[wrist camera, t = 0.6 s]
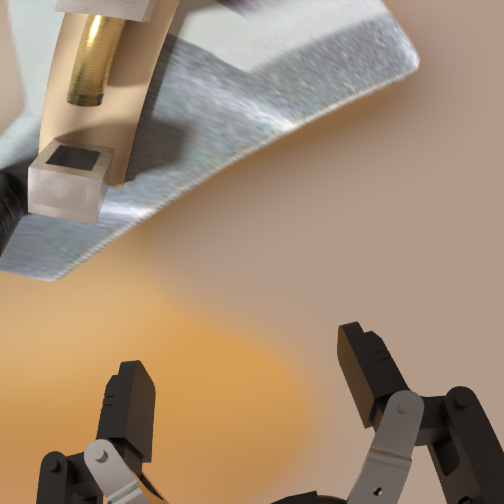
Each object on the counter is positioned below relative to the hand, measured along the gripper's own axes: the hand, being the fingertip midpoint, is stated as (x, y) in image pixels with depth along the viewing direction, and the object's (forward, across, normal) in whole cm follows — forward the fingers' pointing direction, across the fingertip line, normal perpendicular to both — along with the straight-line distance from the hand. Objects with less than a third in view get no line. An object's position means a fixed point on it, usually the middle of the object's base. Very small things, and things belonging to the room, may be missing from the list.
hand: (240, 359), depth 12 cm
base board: (+22, +8, -15) cm, 28 cm away
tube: (+18, +6, -18) cm, 26 cm away
